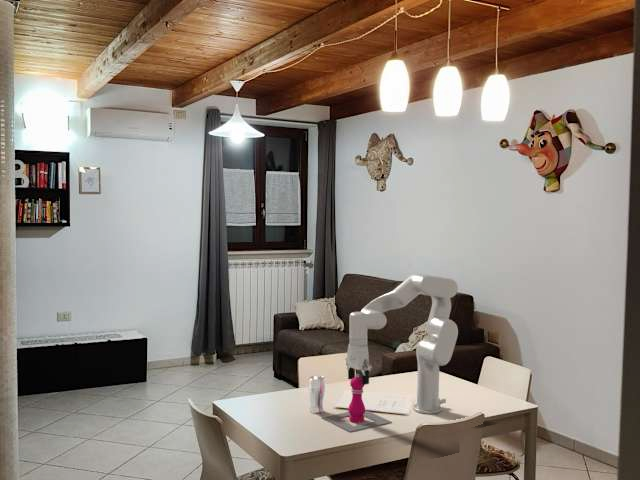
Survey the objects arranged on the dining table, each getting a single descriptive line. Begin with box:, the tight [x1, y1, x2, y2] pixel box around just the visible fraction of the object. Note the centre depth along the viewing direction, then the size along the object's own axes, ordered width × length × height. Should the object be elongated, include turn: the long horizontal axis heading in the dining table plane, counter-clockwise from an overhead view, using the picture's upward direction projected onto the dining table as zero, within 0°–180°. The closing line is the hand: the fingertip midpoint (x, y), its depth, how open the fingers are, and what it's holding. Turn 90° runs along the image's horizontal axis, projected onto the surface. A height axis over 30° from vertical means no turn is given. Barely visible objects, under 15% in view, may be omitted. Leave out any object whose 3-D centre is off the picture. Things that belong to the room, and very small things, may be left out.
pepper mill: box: [347, 373, 366, 424], centre depth 272 cm, size 7×7×20 cm
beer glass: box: [308, 375, 326, 414], centre depth 283 cm, size 7×7×15 cm
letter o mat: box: [321, 409, 393, 433], centre depth 272 cm, size 22×20×1 cm
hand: (358, 381), depth 271 cm, fingers open, 9 cm apart
